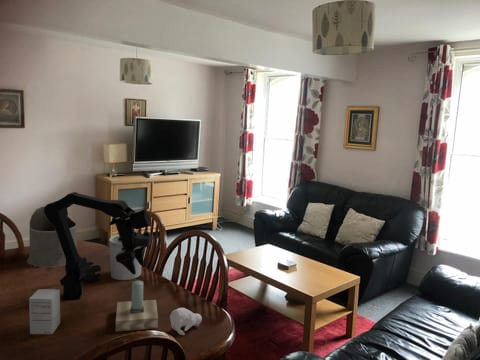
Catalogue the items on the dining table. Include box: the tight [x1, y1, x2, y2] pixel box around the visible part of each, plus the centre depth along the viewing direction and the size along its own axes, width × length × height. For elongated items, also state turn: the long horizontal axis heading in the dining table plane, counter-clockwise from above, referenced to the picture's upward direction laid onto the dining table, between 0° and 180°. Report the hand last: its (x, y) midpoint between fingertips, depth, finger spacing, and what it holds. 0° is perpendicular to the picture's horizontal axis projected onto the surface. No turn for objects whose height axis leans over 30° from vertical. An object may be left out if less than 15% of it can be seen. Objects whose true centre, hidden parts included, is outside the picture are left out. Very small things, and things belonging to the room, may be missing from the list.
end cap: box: [82, 261, 102, 283], centre depth 171 cm, size 10×7×7 cm
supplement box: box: [28, 288, 61, 335], centre depth 129 cm, size 7×7×13 cm
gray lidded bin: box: [27, 205, 78, 268], centre depth 188 cm, size 23×32×25 cm
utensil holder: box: [108, 234, 142, 281], centre depth 177 cm, size 15×15×18 cm
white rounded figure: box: [169, 307, 203, 336], centre depth 134 cm, size 6×8×12 cm
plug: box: [131, 280, 144, 313], centre depth 137 cm, size 4×4×14 cm
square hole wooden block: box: [115, 299, 159, 332], centre depth 138 cm, size 14×14×4 cm
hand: (138, 269), depth 150 cm, fingers open, 9 cm apart
